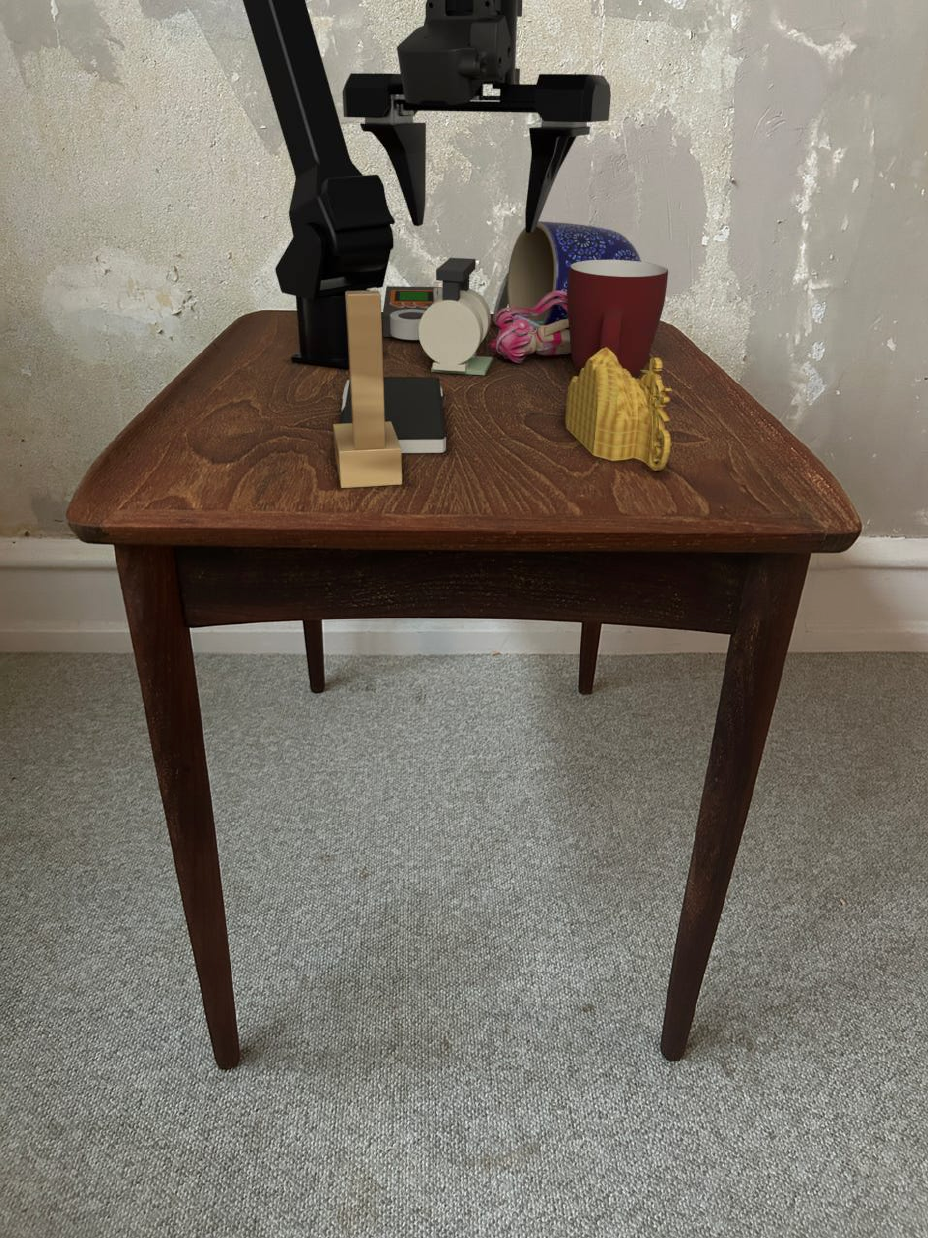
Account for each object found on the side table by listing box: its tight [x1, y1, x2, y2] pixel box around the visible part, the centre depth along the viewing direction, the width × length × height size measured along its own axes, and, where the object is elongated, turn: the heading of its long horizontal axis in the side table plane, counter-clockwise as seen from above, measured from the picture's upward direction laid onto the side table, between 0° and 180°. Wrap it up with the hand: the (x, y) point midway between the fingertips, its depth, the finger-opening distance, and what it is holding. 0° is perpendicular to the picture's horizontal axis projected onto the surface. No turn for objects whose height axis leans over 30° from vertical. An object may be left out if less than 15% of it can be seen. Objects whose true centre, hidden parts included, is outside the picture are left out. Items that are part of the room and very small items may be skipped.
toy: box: [486, 290, 571, 364], centre depth 83 cm, size 7×6×15 cm
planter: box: [507, 220, 642, 330], centre depth 89 cm, size 11×11×11 cm
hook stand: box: [332, 289, 403, 489], centre depth 56 cm, size 6×4×12 cm, turn 11°
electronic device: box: [381, 285, 442, 341], centre depth 95 cm, size 7×3×15 cm
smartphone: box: [338, 376, 447, 454], centre depth 68 cm, size 8×1×15 cm
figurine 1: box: [492, 272, 510, 326], centre depth 94 cm, size 6×6×8 cm
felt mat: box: [430, 355, 494, 376], centre depth 82 cm, size 5×5×1 cm
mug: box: [567, 260, 669, 379], centre depth 73 cm, size 10×8×10 cm
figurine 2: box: [564, 347, 673, 472], centre depth 62 cm, size 4×12×7 cm, turn 13°
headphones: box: [418, 257, 492, 372], centre depth 79 cm, size 6×6×9 cm
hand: (472, 228), depth 67 cm, fingers open, 9 cm apart
